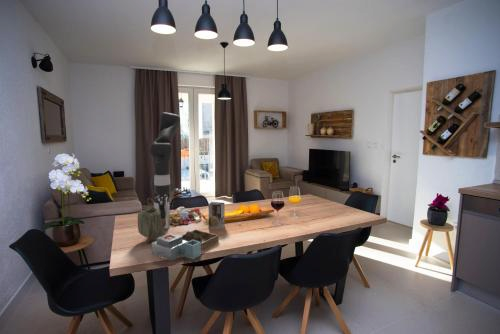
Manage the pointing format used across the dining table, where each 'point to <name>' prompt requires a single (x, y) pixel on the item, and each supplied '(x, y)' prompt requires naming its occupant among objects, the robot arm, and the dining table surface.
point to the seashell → (193, 236)
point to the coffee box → (216, 215)
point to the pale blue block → (169, 246)
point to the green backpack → (150, 222)
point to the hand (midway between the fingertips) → (163, 217)
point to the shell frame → (210, 238)
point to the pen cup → (192, 249)
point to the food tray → (184, 216)
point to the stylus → (163, 221)
